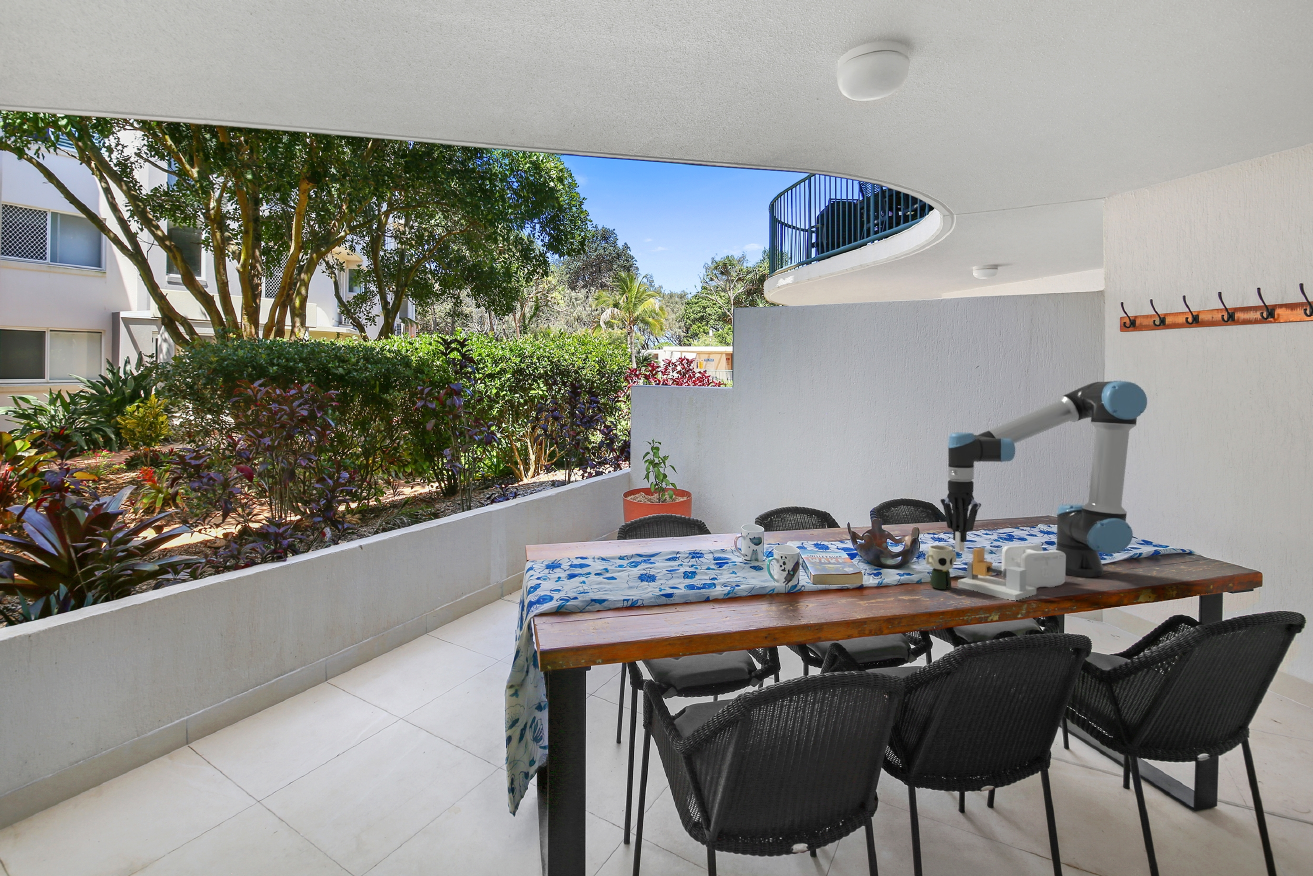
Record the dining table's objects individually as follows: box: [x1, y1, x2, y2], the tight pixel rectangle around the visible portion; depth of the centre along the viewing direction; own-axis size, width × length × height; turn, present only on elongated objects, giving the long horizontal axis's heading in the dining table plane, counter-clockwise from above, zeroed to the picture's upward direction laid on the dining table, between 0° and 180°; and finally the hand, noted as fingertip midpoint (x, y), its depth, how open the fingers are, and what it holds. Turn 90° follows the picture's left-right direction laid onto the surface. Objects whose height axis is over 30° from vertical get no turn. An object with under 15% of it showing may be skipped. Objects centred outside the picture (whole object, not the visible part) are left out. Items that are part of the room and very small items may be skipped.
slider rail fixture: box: [957, 560, 1037, 602], centre depth 194 cm, size 12×18×8 cm, turn 32°
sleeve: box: [972, 546, 993, 577], centre depth 198 cm, size 4×4×8 cm
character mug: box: [925, 544, 957, 590], centre depth 197 cm, size 11×7×13 cm, turn 103°
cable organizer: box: [1001, 543, 1066, 589], centre depth 200 cm, size 15×11×12 cm
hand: (959, 551), depth 204 cm, fingers closed
